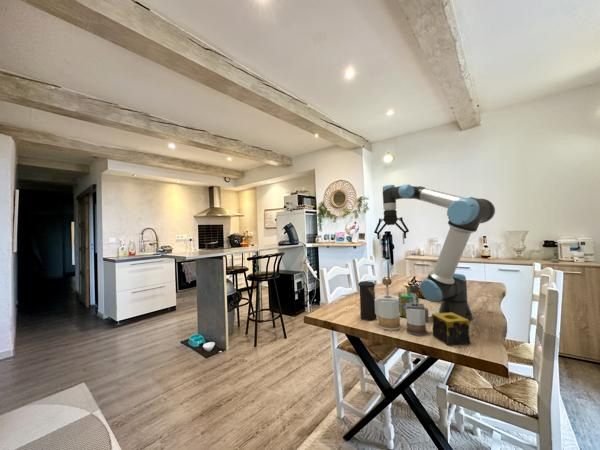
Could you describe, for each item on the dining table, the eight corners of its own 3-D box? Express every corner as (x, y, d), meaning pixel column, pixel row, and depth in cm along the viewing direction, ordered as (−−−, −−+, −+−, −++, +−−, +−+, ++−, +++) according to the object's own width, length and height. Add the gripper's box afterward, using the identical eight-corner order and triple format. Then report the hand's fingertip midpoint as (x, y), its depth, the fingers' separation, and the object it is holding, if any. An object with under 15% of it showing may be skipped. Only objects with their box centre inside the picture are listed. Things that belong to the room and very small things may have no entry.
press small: (427, 329, 117) (426, 303, 117) (430, 336, 109) (428, 308, 110) (406, 327, 120) (404, 301, 121) (407, 334, 113) (405, 307, 113)
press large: (400, 323, 126) (398, 294, 126) (400, 331, 116) (399, 300, 117) (376, 321, 130) (375, 293, 131) (375, 329, 120) (373, 299, 121)
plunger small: (420, 318, 116) (418, 283, 117) (420, 321, 113) (418, 285, 113) (410, 317, 118) (408, 283, 118) (411, 320, 114) (409, 284, 114)
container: (377, 321, 130) (375, 283, 131) (360, 320, 132) (358, 283, 132) (376, 315, 139) (374, 280, 139) (359, 315, 140) (357, 280, 141)
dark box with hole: (432, 335, 110) (430, 313, 111) (453, 334, 111) (452, 311, 112) (447, 346, 100) (446, 321, 100) (470, 344, 101) (469, 319, 101)
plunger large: (393, 311, 124) (391, 276, 125) (393, 314, 120) (391, 277, 121) (384, 310, 126) (382, 275, 126) (383, 313, 122) (381, 277, 122)
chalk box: (398, 312, 143) (397, 286, 143) (415, 312, 141) (414, 286, 141) (401, 317, 134) (400, 290, 134) (419, 318, 132) (418, 290, 132)
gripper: (411, 209, 152) (413, 243, 152) (369, 211, 161) (371, 244, 161) (412, 208, 145) (414, 244, 145) (368, 211, 154) (370, 245, 154)
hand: (391, 244), depth 153 cm, fingers open, 13 cm apart
